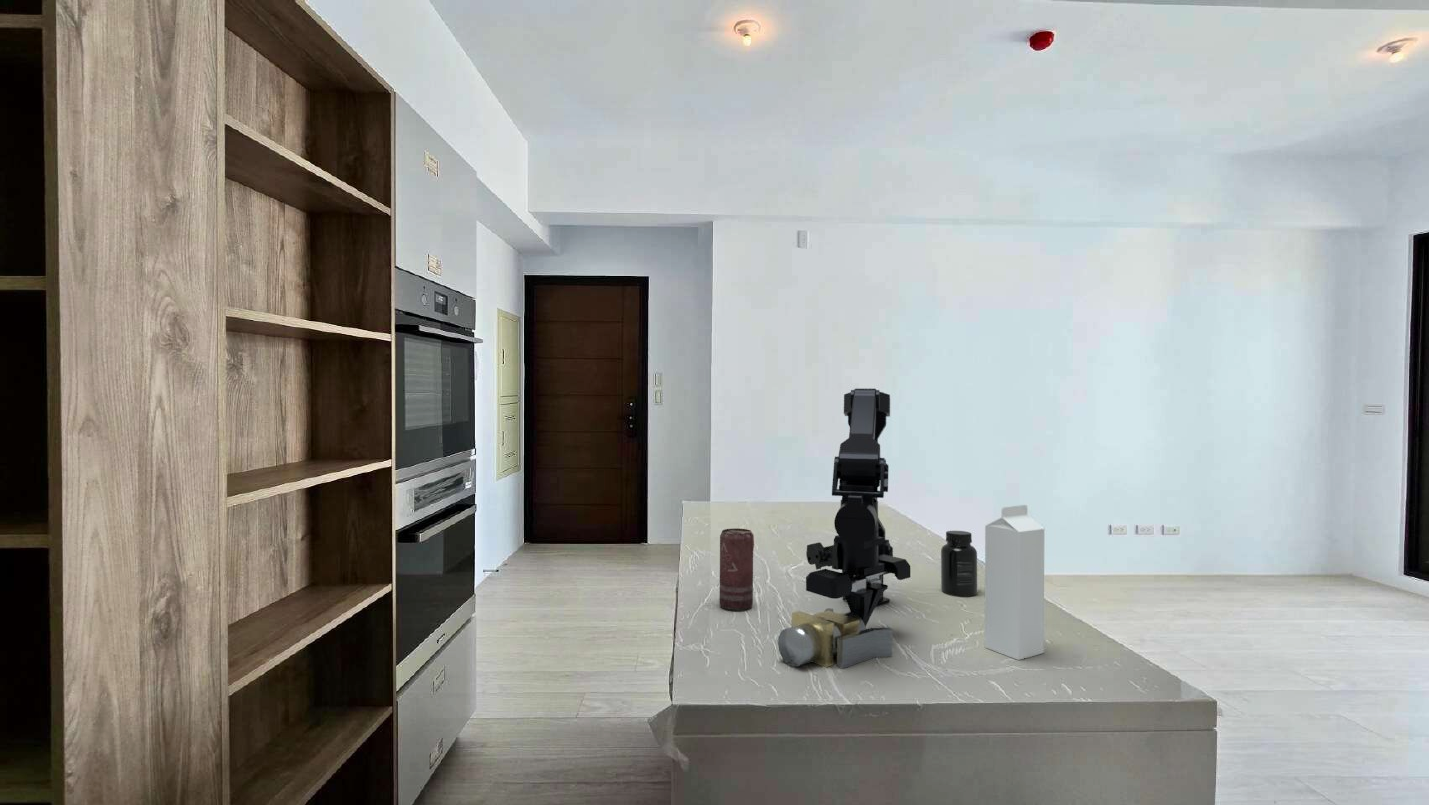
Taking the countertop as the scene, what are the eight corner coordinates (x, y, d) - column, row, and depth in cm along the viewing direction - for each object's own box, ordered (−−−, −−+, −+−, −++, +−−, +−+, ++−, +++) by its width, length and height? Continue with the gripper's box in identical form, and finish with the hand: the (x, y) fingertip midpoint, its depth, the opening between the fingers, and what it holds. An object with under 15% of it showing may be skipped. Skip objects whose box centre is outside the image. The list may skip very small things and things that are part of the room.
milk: (1044, 654, 100) (1046, 507, 100) (1018, 661, 97) (1020, 510, 97) (1008, 641, 105) (1010, 502, 105) (983, 647, 102) (985, 504, 102)
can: (751, 612, 118) (752, 534, 118) (716, 610, 120) (717, 532, 120) (756, 603, 124) (756, 528, 124) (722, 600, 126) (723, 526, 126)
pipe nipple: (837, 640, 105) (837, 607, 105) (867, 651, 100) (868, 616, 100) (803, 652, 99) (803, 617, 99) (833, 664, 95) (833, 627, 95)
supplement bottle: (980, 591, 134) (980, 531, 134) (973, 599, 128) (973, 537, 128) (945, 586, 137) (945, 528, 137) (936, 593, 132) (937, 533, 132)
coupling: (828, 632, 109) (829, 595, 109) (893, 655, 98) (894, 615, 98) (760, 652, 99) (760, 612, 99) (824, 681, 89) (824, 636, 89)
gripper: (857, 516, 115) (858, 605, 116) (780, 530, 104) (780, 629, 104) (912, 525, 107) (912, 622, 107) (833, 542, 95) (834, 650, 95)
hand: (860, 630), depth 103 cm, fingers closed
